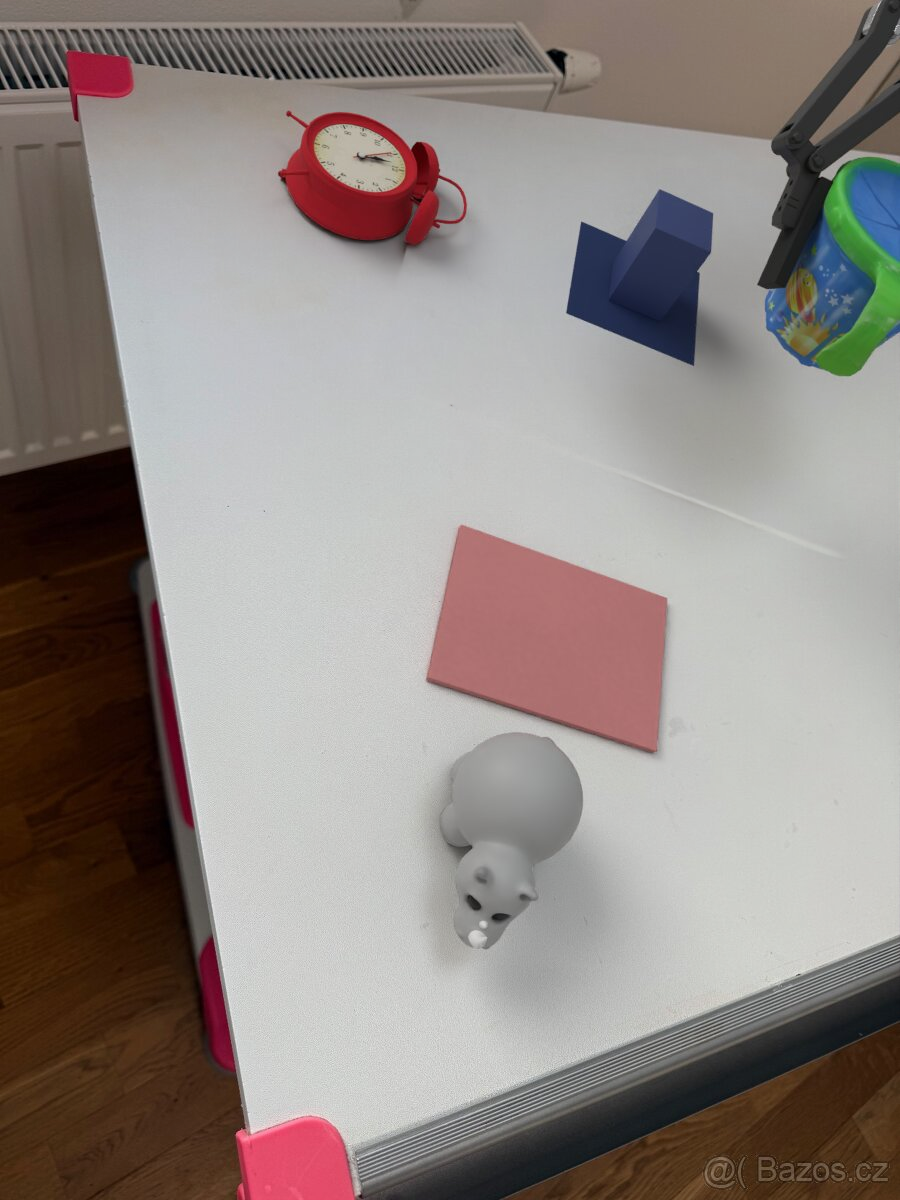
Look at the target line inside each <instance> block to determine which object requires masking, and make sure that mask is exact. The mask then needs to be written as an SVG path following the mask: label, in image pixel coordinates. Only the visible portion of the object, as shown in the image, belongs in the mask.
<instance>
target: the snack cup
mask: <svg viewBox="0 0 900 1200" xmlns="http://www.w3.org/2000/svg"><path fill="white" fill-rule="evenodd" d="M830 180H831V181H833V184H832V186H831V188H830V190H829V192H828V194H827V197H826V199H825V201H824V204H823V206H822V208H821V210H820V212H819V215H818V217H817V219H816V221H815V224H814V226H813V228H812V230H811V232H810V235H809V237H808V239H807V241H806V243H805V246H804V248H803V250H802V252H801V254H800V257H799V259H798V261H797V263H796V266H795V268H794V270H793V272H792V274H791V277H790V279H789V281H788V283H787V285H786V288H779V289H768V292H767V294H766V295H765V300H764V312H765V328H766V330H767V331H768V332H770V333H771V334H773V335H774V336H775V338H776V340H777V341H778V343H779V345H780V346H781V347H782V348H783V350H785V351H786V352H788V354H790V355H791V356H792V357H794V358H795V359H796V360H797V361H798V362H799V364H800V365H802V366H806V367H809V368H810V367H813V368H815V369H819V370H821V371H825V372H828V373H830V374H832V375H834V376H838V377H852V376H853V375H855V374H857V373H858V372H860V371H861V370H862V369H863V367H864V366H865V364H866V363H867V362H868V361H869V359H870V357H871V356H872V355H873V353H874V352H875V350H876V349H878V348H879V347H881V346H882V345H884V344H885V343H886V342H887V341H889V340H890V339H892V338H894V337H895V336H897V335H898V334H900V163H899V162H897V161H894V160H891V159H887V158H884V157H879V156H878V157H877V156H863V157H862V156H861V157H857V158H854V159H851V160H847V161H846V162H844V163H842V164H841V165H840V166H839V168H838V169H837V171H836V172H835V175H834V177H832V179H830Z"/></svg>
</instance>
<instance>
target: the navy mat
mask: <svg viewBox="0 0 900 1200" xmlns="http://www.w3.org/2000/svg"><path fill="white" fill-rule="evenodd" d="M626 241H627V240H625V239H623V238H621V237H618V236H616V235H614V234H612V233H610V232H608V231H605V230H602V229H600V228H598V227H595V226H593V225H591V224H588V223H586V222H584V221H580V226H579V232H578V237H577V244H576V250H575V255H574V256H575V257H574V262H573V269H572V276H571V281H570V287H569V292H568V299H567V306H566V312H565V314H567V315H568V316H572V317H574V318H576V319H579V320H581V321H583V322H586V323H589V324H591V325H594V326H596V327H598V328H601V329H603V330H606V331H608V332H610V333H612V334H616V335H618V336H619V337H622V338H625V339H627V340H630V341H632V342H635V343H637V344H639V345H642V346H645V347H647V348H649V349H651V350H654V351H656V352H658V353H661V354H663V355H666V356H668V357H671V358H672V359H673V358H674V359H676V360H678V361H681V362H683V363H686V364H688V365H691V366H693V367H695V355H696V338H697V324H698V323H697V321H698V306H699V289H700V272H699V271H697V272H696V274H695V275H694V277H693V278H692V279H691V281H690V282H689V283H688V285H687V286H686V287H685V289H684V290H683V291H682V293H681V294H680V296H679V297H678V298H677V300H676V301H675V302H674V304H673V305H672V306H671V308H670V309H669V310H668V312H667V313H666V315H665V316H664V317H663V319H662V320H661V321H657V320H655V319H652V318H650V317H648V316H645V315H643V314H640V313H638V312H636V311H633V310H631V309H629V308H626V307H624V306H621V305H619V304H617V303H614V302H612V301H609V300H608V299H609V291H610V284H611V276H612V269H613V262H614V260H615V258H616V257H617V255H618V254H619V252H620V251H621V249H622V247H623V246H624V244H625V243H626Z"/></svg>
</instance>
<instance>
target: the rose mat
mask: <svg viewBox="0 0 900 1200" xmlns="http://www.w3.org/2000/svg"><path fill="white" fill-rule="evenodd" d="M447 576H448V577H447V582H446V586H445V591H444V596H443V600H442V605H441V611H440V614H439V619H438V624H437V629H436V633H435V638H434V642H433V647H432V653H431V656H430V661H429V666H428V671H427V675H426V681H427V682H430V683H433V684H436V685H440V686H443V687H446V688H448V689H452V690H455V691H458V692H461V693H465V694H467V695H470V696H473V697H477V698H480V699H483V700H486V701H490V702H492V703H495V704H498V705H502V706H505V707H508V708H510V709H514V710H518V711H521V712H524V713H527V714H530V715H533V716H537V717H539V718H541V719H542V718H543V719H545V720H548V721H552V722H555V723H557V724H561V725H565V726H567V727H571V728H574V729H576V730H579V731H583V732H586V733H589V734H592V735H595V736H598V737H601V738H604V739H607V740H611V741H613V742H617V743H621V744H624V745H626V746H630V747H633V748H635V749H639V750H642V751H645V752H647V753H652V754H655V753H656V752H657V751H658V740H659V739H658V738H659V728H660V727H659V726H660V725H659V724H660V711H661V710H660V709H661V698H662V697H661V696H662V682H663V681H662V680H663V669H664V668H663V667H664V666H663V665H664V653H665V639H666V638H665V637H666V624H667V623H666V622H667V608H668V597H665V596H663V595H660V594H657V593H655V592H652V591H649V590H646V589H644V588H640V587H638V586H635V585H632V584H629V583H626V582H624V581H621V580H618V579H615V578H612V577H610V576H607V575H604V574H601V573H598V572H595V571H593V570H589V569H588V568H584V567H581V566H579V565H575V564H573V563H570V562H568V561H565V560H562V559H559V558H558V557H557V558H556V557H553V556H551V555H548V554H545V553H542V552H541V551H536V550H534V549H531V548H528V547H526V546H523V545H520V544H518V543H515V542H512V541H509V540H506V539H504V538H500V537H498V536H495V535H491V534H489V533H487V532H483V531H481V530H478V529H475V528H472V527H470V526H467V525H465V524H460V525H459V527H458V529H457V534H456V539H455V544H454V548H453V553H452V558H451V563H450V567H449V572H448V575H447Z"/></svg>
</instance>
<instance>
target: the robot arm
mask: <svg viewBox="0 0 900 1200" xmlns="http://www.w3.org/2000/svg"><path fill="white" fill-rule="evenodd" d="M899 40H900V0H880V1H879V2H877V3H875V4H874V5H872V6H870V7H869V8H867V9H866V10H865V12H864V13H863V15H862V18H861V20H860V23H859V25H858V28H857V29H856V33H855V35H854V37H853V40H852V42H851V44H850V45H849V46H848V47H847V49H846V50H845V51H844V52H843V53H842V55H840V57H839V58H838V59H837V61H836V62H835V63H834V64H833V66H832V67H831V68H830V69H829V71H828V72H827V73H826V74H825V76H823V77H822V79H821V80H820V81H819V83H818V84H817V85H816V86H815V87H814V89H813V90H812V91H811V92H810V93H809V95H808V96H807V97H806V99H804V100H803V102H802V103H801V104H800V106H799V107H798V108H797V109H796V110H795V111H794V113H793V114H792V115H791V116H790V118H789V119H788V120H787V121H786V123H785V124H784V125H783V126H782V128H780V129H779V131H778V132H777V133H776V135H775V136H774V137H773V139H772V140H771V144H770V148H771V151H772V153H773V154H774V155H776V156H779V157H781V158H782V159H783V161H785V163H786V164H787V166H786V169H785V173H786V176H787V178H788V179H787V182H786V184H785V187H784V188H783V191H782V192H781V195H780V198H779V200H778V202H777V205H776V207H775V209H774V211H773V213H772V217H771V227H774V228H776V229H777V230H780V232H779V234H778V236H777V239H776V241H775V244H774V246H773V247H772V250H771V252H770V254H769V257H768V258H767V261H766V264H765V266H764V268H763V270H762V272H761V275H760V277H759V279H758V281H757V284H756V286H758V287H761V288H763V289H765V290H770V289H779V288H786V285H787V283H788V281H789V279H790V277H791V274H792V272H793V270H794V268H795V266H796V263H797V261H798V259H799V257H800V254H801V252H802V250H803V248H804V246H805V243H806V241H807V239H808V237H809V235H810V232H811V230H812V228H813V226H814V224H815V221H816V219H817V217H818V215H819V212H820V210H821V208H822V206H823V204H824V201H825V199H826V197H827V194H828V192H829V190H830V188H831V186H832V184H833V181H831V180H832V179H829V178H827V177H825V176H821V173H822V172H824V171H825V170H827V169H828V168H829V167H830V166H831V165H833V164H834V163H836V162H837V161H838V160H839V159H841V158H842V157H843V156H845V155H847V153H848V152H850V151H852V150H853V149H855V148H856V147H857V146H858V145H859V144H861V143H862V142H863V141H865V140H866V139H867V138H868V137H870V136H872V135H873V134H874V133H875V132H877V131H878V130H879V129H881V127H883V126H884V125H886V124H888V122H889V121H891V120H892V119H893V118H894V117H897V115H898V114H900V78H898V79H897V80H895V81H894V82H893V83H892V84H890V85H888V86H887V88H885V89H884V90H882V91H881V92H880V93H879V95H878V96H877V97H875V98H873V100H871V101H870V102H868V103H867V104H866V105H864V107H862V108H860V109H859V110H858V111H857V112H856V113H854V114H853V115H852V116H850V117H849V118H847V120H845V121H844V122H842V123H841V124H840V125H838V126H837V127H836V128H835V129H833V130H832V131H831V132H829V133H828V134H827V135H825V136H824V137H823V138H822V139H820V140H819V141H818V142H817V143H815V144H814V143H812V142H811V141H810V140H811V138H813V136H814V134H815V133H816V132H817V131H818V130H819V129H820V128H821V126H822V125H823V124H824V123H825V121H826V120H827V119H828V118H829V117H830V115H831V114H832V113H833V112H834V111H835V109H836V108H837V107H838V106H839V104H841V102H842V101H843V100H844V99H845V98H846V97H847V95H848V94H849V92H850V91H851V90H852V89H853V88H854V87H855V86H856V84H857V83H858V82H859V81H860V79H861V78H862V77H864V75H865V73H866V72H867V71H868V70H869V69H870V68H871V66H872V65H873V64H874V63H875V61H876V60H877V59H878V58H879V57H880V55H881V54H882V53H883V51H884V50H885V49H887V48H889V47H891V46H893V45H895V44H897V43H898V42H899Z"/></svg>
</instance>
